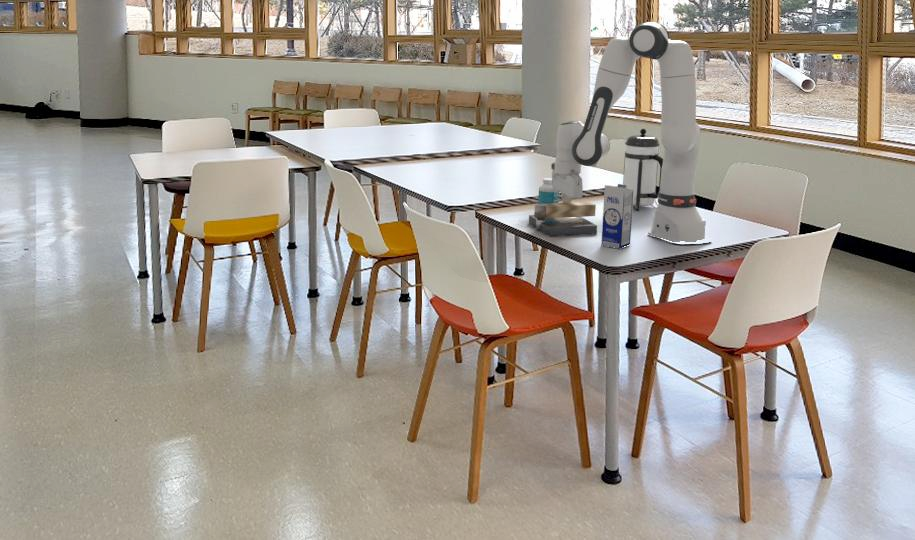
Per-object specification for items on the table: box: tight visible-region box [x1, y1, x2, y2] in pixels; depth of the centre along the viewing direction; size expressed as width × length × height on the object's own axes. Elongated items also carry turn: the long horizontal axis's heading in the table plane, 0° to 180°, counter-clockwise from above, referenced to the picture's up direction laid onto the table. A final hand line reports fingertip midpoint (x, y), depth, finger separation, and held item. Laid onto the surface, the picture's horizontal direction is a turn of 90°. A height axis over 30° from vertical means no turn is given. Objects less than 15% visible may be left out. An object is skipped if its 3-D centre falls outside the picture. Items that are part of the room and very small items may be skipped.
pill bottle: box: [538, 177, 560, 204], centre depth 347 cm, size 8×7×14 cm
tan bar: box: [533, 201, 596, 218], centre depth 326 cm, size 21×5×4 cm, turn 106°
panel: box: [528, 214, 598, 238], centre depth 327 cm, size 20×18×4 cm
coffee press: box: [622, 128, 663, 212], centre depth 360 cm, size 17×16×30 cm
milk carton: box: [600, 183, 634, 249], centre depth 304 cm, size 7×7×20 cm
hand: (566, 206), depth 334 cm, fingers closed
